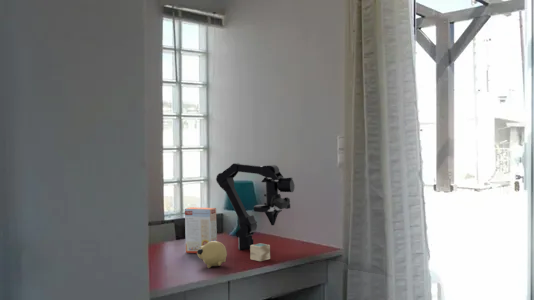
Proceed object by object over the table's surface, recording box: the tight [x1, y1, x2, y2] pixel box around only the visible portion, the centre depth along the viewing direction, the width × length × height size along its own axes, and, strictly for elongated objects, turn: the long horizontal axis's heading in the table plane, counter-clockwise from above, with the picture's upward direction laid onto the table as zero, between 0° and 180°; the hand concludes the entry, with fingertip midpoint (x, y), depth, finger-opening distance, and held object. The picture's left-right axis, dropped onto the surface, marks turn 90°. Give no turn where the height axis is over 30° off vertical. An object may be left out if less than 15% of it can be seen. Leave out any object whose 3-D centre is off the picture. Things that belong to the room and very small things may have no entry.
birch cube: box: [249, 242, 271, 262], centre depth 216 cm, size 6×6×6 cm
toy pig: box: [196, 240, 228, 269], centre depth 207 cm, size 10×12×11 cm
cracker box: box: [184, 206, 218, 254], centre depth 235 cm, size 14×6×21 cm, turn 65°
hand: (272, 225), depth 235 cm, fingers closed
